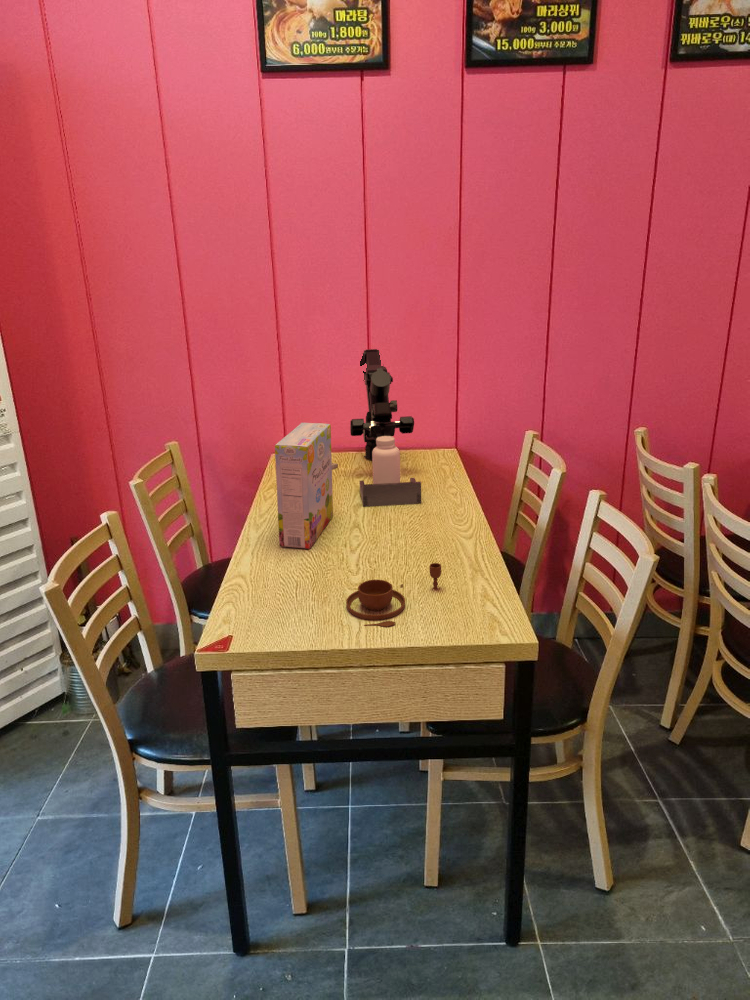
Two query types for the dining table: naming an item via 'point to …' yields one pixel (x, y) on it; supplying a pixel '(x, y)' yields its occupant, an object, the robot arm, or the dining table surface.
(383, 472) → the pill bottle
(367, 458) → the robot arm
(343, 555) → the dining table surface
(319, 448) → the snack box
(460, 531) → the dining table surface
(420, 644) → the dining table surface
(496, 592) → the dining table surface
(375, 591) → the place setting
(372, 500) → the dark wooden frame
